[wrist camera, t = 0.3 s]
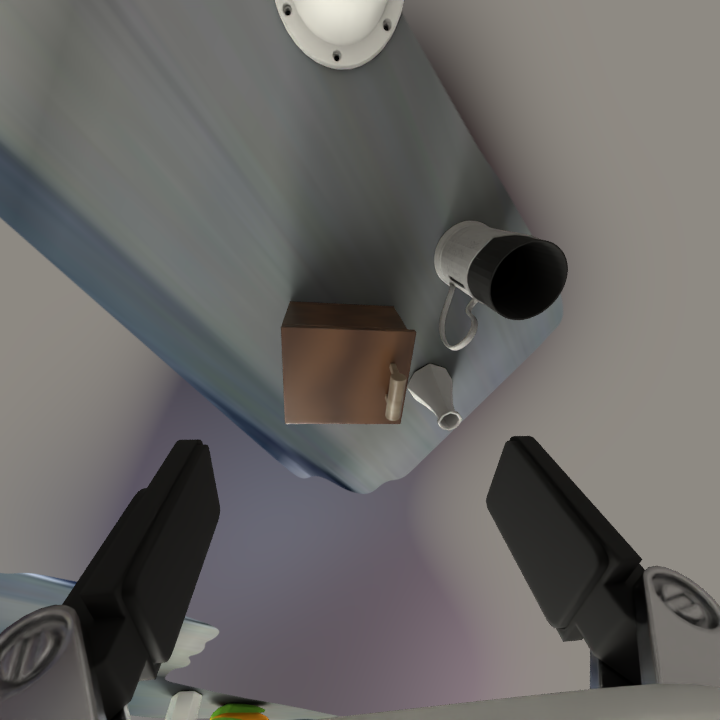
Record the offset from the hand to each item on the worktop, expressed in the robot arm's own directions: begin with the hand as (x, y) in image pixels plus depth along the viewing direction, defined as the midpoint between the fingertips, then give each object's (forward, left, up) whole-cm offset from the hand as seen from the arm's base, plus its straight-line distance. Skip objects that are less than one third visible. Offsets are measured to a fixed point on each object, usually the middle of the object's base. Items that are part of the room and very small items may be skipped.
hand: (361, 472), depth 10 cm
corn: (+148, -25, -36) cm, 154 cm away
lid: (+12, +2, -27) cm, 29 cm away
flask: (+18, +16, -36) cm, 43 cm away
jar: (+135, -41, -36) cm, 146 cm away
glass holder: (0, +16, -36) cm, 39 cm away
